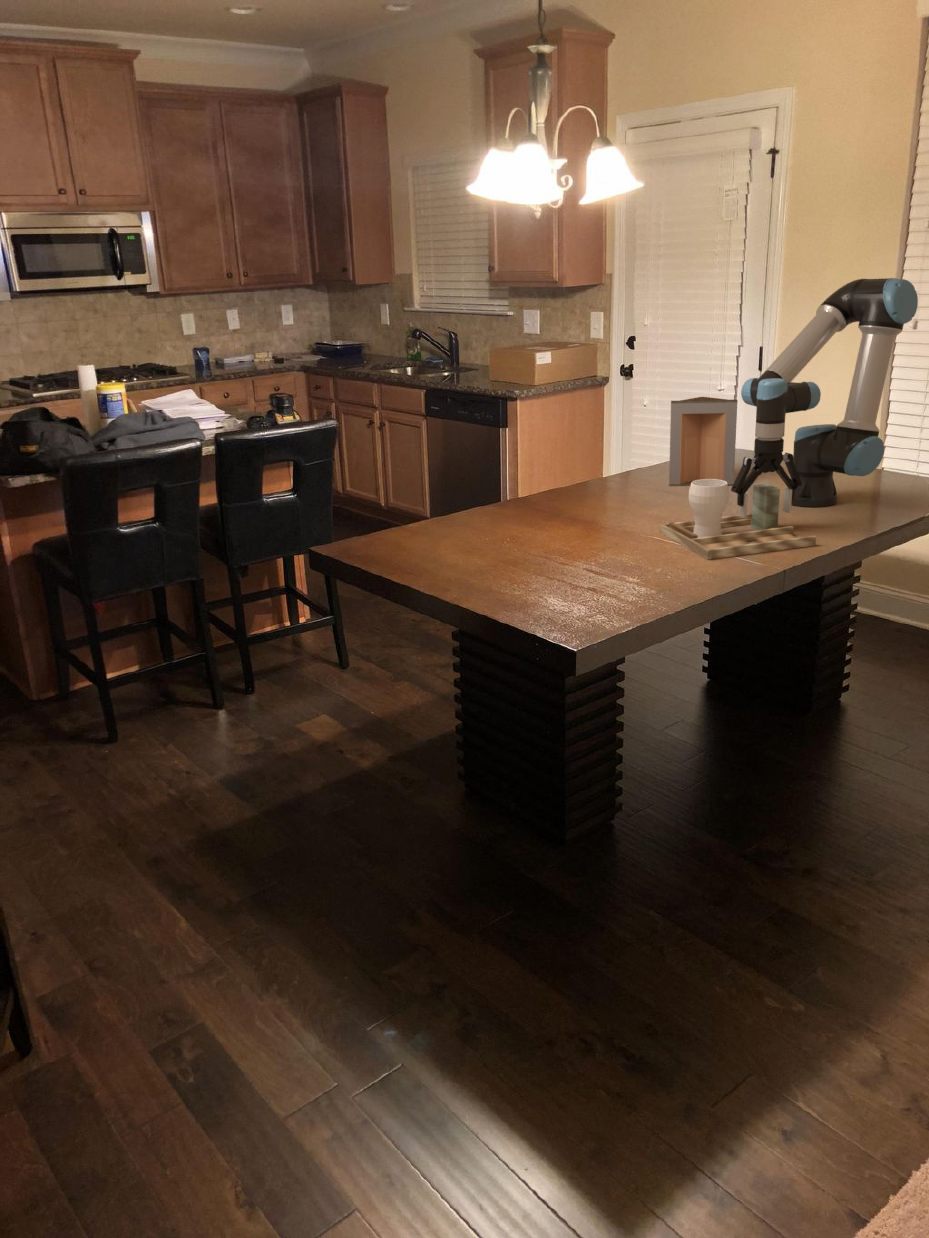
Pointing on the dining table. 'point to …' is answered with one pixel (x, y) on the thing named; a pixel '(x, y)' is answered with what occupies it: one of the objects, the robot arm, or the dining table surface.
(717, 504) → the cup
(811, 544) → the lane rails
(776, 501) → the rail with green post
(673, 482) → the cabinet
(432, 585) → the dining table surface
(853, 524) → the dining table surface
